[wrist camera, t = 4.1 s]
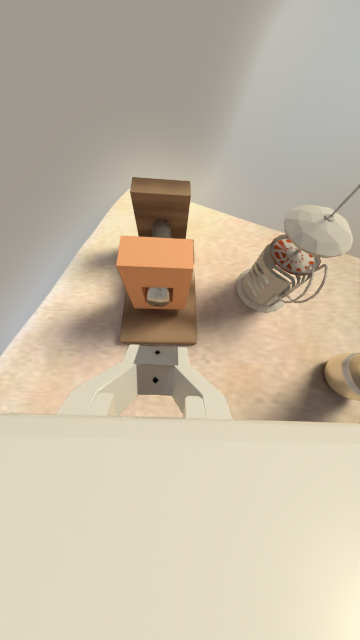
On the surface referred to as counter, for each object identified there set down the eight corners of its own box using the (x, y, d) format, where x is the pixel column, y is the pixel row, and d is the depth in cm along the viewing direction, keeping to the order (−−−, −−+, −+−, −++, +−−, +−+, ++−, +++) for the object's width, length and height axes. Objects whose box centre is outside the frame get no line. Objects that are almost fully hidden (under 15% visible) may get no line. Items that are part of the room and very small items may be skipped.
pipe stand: (195, 344, 29) (213, 316, 18) (121, 342, 28) (90, 313, 17) (192, 244, 36) (204, 179, 25) (134, 241, 36) (118, 173, 24)
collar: (184, 309, 28) (193, 268, 18) (134, 308, 28) (116, 265, 18) (184, 288, 30) (192, 239, 20) (136, 286, 29) (120, 235, 19)
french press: (280, 268, 36) (491, 44, 12) (294, 321, 32) (653, 138, 8) (232, 267, 35) (362, 29, 12) (241, 322, 31) (469, 123, 8)
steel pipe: (169, 306, 25) (169, 296, 22) (147, 306, 25) (145, 296, 22) (171, 228, 30) (171, 211, 28) (153, 227, 30) (152, 210, 27)
